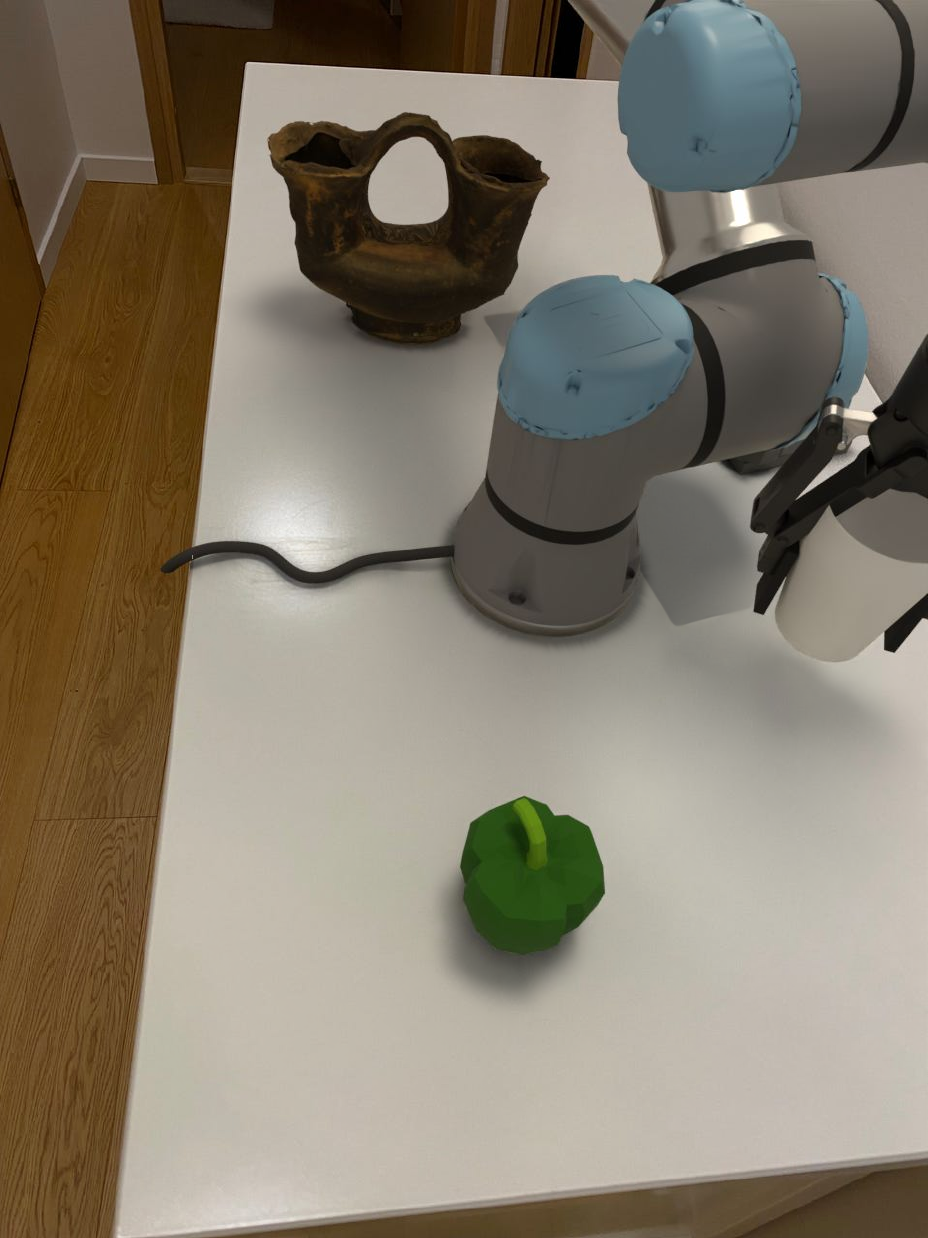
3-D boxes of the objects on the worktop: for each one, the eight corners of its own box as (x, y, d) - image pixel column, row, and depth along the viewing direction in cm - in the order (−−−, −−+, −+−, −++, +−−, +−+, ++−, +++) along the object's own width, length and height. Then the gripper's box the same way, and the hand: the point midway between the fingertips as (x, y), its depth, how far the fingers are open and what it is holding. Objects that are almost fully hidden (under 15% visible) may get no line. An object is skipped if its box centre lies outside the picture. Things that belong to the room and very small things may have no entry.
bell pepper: (593, 971, 57) (632, 910, 50) (458, 978, 56) (476, 917, 49) (572, 842, 63) (605, 768, 55) (449, 846, 62) (464, 771, 54)
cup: (886, 690, 65) (978, 580, 56) (756, 661, 66) (826, 546, 56) (877, 592, 71) (961, 476, 61) (758, 565, 71) (822, 446, 62)
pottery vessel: (274, 344, 92) (259, 137, 76) (280, 280, 98) (268, 77, 83) (529, 355, 95) (565, 157, 79) (518, 292, 101) (549, 98, 86)
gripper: (1195, 368, 51) (972, 621, 69) (802, 268, 53) (685, 539, 71) (1223, 458, 46) (977, 704, 64) (792, 345, 48) (670, 614, 66)
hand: (824, 618), depth 67 cm, fingers closed on cup, 9 cm apart
